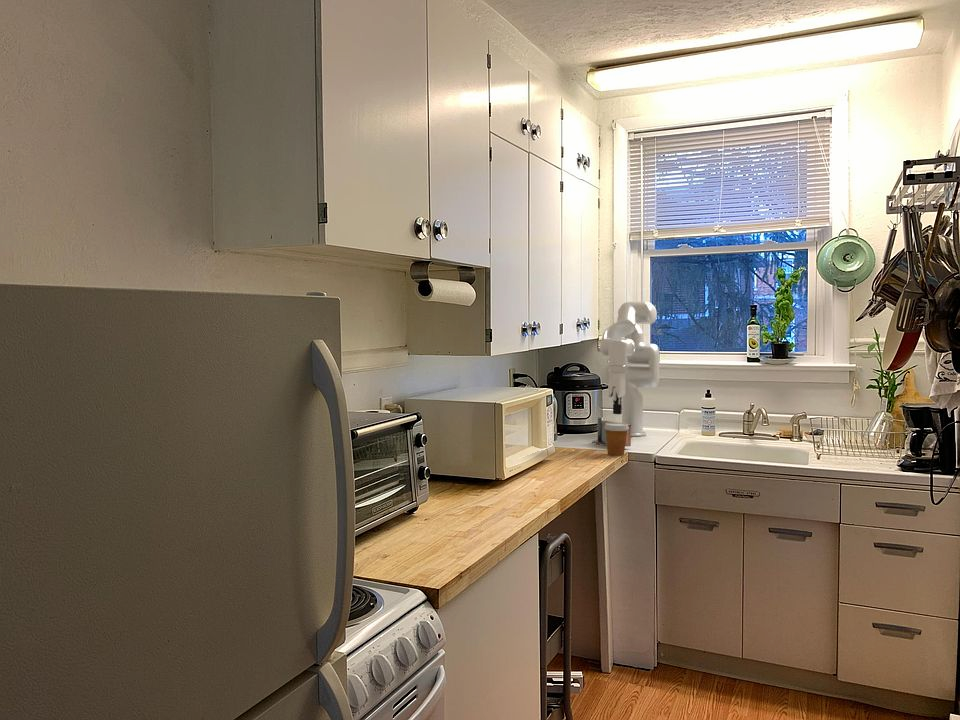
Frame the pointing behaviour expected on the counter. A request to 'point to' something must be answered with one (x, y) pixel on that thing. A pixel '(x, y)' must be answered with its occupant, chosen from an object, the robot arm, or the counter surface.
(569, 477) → the counter surface
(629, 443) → the bar
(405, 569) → the counter surface
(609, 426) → the disposable coffee cup
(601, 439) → the hinge post
